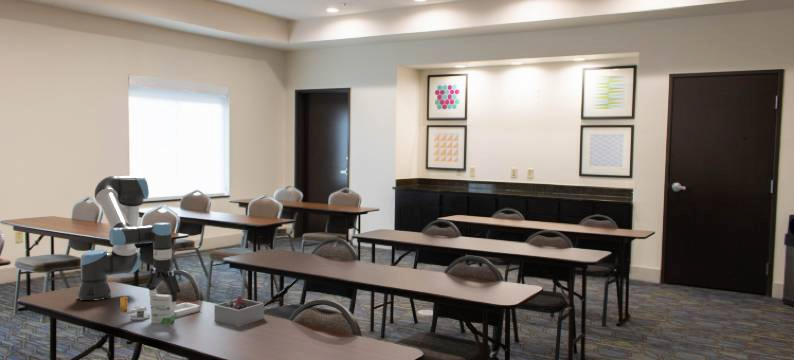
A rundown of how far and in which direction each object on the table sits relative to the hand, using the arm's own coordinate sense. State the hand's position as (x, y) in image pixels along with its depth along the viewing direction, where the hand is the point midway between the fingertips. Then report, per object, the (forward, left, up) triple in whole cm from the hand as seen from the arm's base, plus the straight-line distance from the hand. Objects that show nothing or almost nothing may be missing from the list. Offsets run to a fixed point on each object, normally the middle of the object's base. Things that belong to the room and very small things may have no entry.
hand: (163, 306), depth 268 cm
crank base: (-13, -2, -7) cm, 15 cm away
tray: (-6, +14, -7) cm, 17 cm away
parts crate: (+24, +22, -7) cm, 33 cm away
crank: (-13, -5, -3) cm, 15 cm away
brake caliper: (+23, +22, -7) cm, 33 cm away
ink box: (0, 0, -7) cm, 7 cm away
